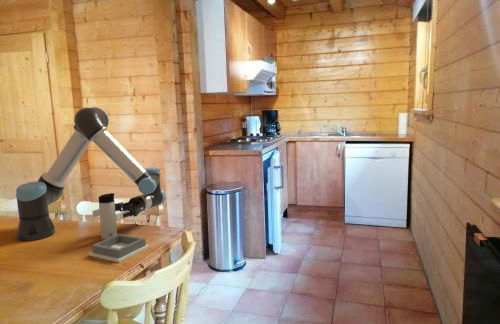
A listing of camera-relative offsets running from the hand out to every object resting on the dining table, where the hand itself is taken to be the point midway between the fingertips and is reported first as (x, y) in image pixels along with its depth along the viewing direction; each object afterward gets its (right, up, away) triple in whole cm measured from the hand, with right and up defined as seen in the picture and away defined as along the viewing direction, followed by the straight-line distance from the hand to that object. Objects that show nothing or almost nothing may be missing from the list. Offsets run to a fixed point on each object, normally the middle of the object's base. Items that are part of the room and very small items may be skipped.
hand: (104, 215), depth 158 cm
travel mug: (+1, -11, +4) cm, 11 cm away
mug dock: (+10, -12, -11) cm, 20 cm away
